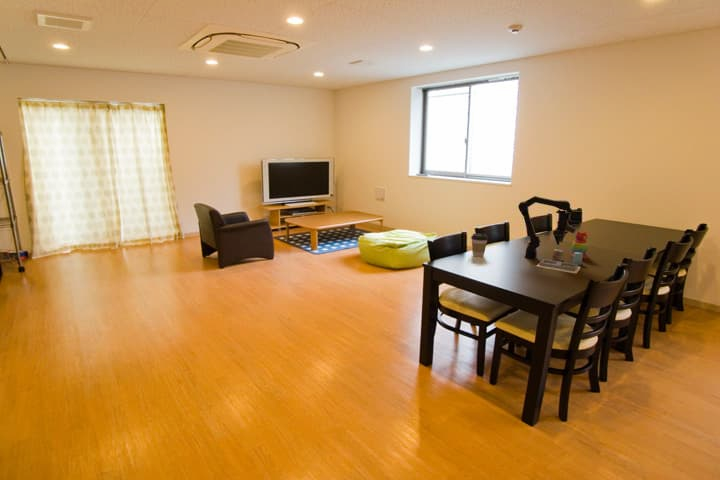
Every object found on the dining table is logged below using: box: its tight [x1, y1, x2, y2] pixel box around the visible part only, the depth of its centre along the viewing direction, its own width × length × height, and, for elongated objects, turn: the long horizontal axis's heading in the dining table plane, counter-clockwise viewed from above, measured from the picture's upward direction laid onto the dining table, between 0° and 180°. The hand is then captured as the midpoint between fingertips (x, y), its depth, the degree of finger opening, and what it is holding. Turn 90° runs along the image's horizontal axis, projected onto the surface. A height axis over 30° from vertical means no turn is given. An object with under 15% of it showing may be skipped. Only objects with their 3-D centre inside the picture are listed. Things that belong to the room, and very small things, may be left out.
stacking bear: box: [570, 230, 590, 260], centre depth 277 cm, size 11×10×18 cm
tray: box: [536, 258, 581, 274], centre depth 256 cm, size 23×14×2 cm, turn 53°
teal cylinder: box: [572, 252, 583, 266], centre depth 263 cm, size 5×5×7 cm
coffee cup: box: [470, 232, 489, 258], centre depth 279 cm, size 11×11×15 cm
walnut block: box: [551, 248, 564, 262], centre depth 270 cm, size 5×5×7 cm
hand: (559, 243), depth 268 cm, fingers open, 9 cm apart
